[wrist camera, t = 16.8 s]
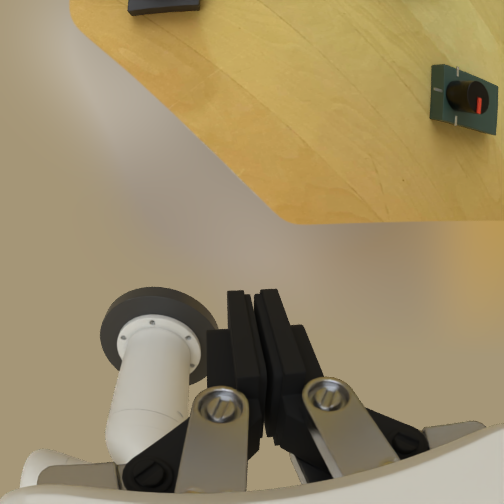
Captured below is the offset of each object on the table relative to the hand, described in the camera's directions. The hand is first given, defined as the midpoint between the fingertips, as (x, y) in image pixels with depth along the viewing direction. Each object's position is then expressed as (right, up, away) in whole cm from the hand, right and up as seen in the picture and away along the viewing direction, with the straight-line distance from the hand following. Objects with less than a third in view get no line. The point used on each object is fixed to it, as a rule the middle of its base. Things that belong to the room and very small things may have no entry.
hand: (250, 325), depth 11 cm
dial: (+28, +23, +22) cm, 42 cm away
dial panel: (+31, +25, +25) cm, 47 cm away
